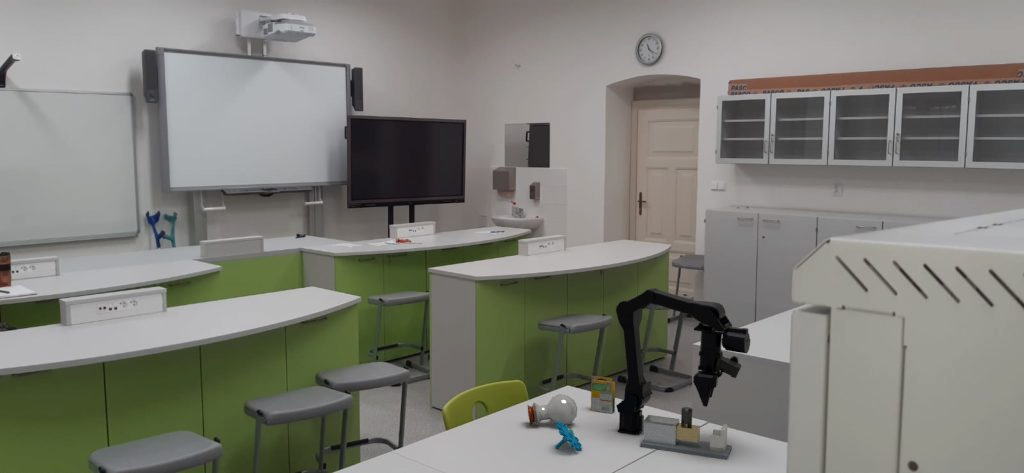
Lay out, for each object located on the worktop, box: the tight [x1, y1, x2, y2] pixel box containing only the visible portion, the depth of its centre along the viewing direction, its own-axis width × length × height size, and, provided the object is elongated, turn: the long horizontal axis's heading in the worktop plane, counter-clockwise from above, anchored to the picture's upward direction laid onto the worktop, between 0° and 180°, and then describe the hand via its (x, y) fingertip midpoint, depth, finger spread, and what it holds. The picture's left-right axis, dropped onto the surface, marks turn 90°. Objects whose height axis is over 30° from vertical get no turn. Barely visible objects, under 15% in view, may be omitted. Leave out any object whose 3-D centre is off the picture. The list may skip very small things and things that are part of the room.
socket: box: [709, 423, 728, 453], centre depth 220 cm, size 4×6×6 cm, turn 157°
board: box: [639, 438, 733, 461], centre depth 223 cm, size 24×9×1 cm, turn 67°
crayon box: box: [590, 375, 616, 415], centre depth 256 cm, size 7×3×12 cm, turn 66°
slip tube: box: [676, 406, 701, 442], centre depth 224 cm, size 14×4×9 cm, turn 67°
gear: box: [554, 421, 583, 452], centre depth 222 cm, size 11×6×10 cm
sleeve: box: [643, 414, 681, 446], centre depth 226 cm, size 9×5×6 cm, turn 67°
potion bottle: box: [527, 393, 578, 426], centre depth 242 cm, size 9×10×15 cm
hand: (707, 401), depth 224 cm, fingers open, 9 cm apart
